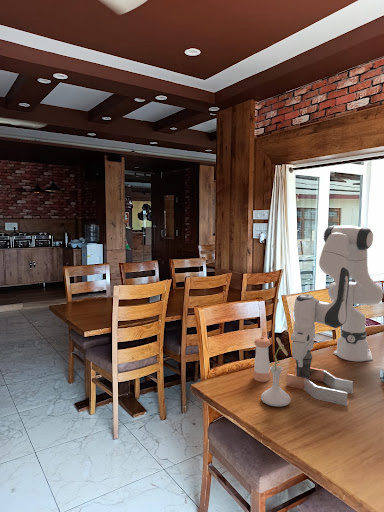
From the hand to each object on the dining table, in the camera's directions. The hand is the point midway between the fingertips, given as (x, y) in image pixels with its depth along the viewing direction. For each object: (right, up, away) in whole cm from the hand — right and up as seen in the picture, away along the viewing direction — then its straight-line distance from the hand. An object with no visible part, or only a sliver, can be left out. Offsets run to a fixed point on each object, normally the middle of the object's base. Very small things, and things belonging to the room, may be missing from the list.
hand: (303, 363), depth 166 cm
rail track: (+4, -9, -5) cm, 11 cm away
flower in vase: (-16, -10, -17) cm, 25 cm away
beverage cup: (0, -9, +1) cm, 9 cm away
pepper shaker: (-17, -8, +5) cm, 20 cm away
